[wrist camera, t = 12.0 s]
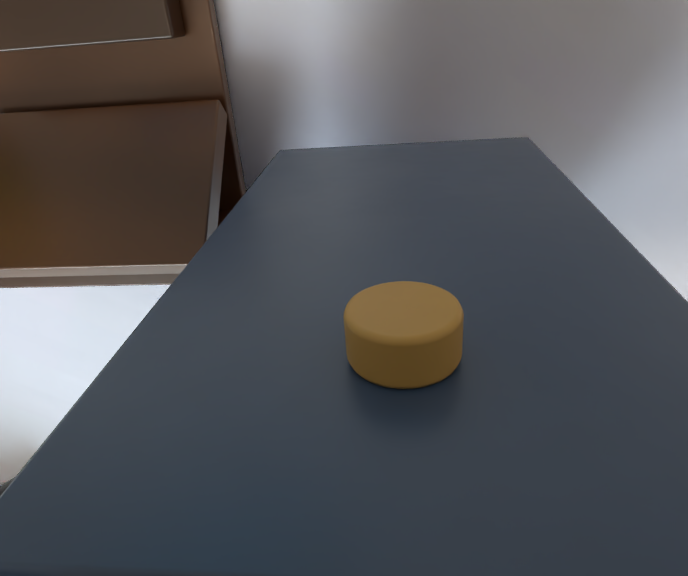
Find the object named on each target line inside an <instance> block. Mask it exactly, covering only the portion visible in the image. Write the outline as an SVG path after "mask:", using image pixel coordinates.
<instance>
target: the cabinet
mask: <svg viewBox="0 0 688 576" xmlns="http://www.w3.org/2000/svg"><path fill="white" fill-rule="evenodd" d="M245 193H246V189H245V183H244V177H243V171H242V165H241V159H240V153H239V147H238V142H237V136H236V130H235V124H234V118H233V112H232V106H231V100H230V95H229V89H228V83H227V77H226V71H225V65H224V59H223V53H222V48H221V42H220V36H219V30H218V24H217V18H216V12H215V6H214V1H213V0H0V288H24V287H72V286H121V285H169V284H172V283H173V282H174V280H175V279H176V278H177V277H178V276H179V274H180V273H181V272H182V271H183V269H184V268H185V267H186V266H187V264H188V263H189V262H190V261H191V259H192V258H193V257H194V256H195V254H196V253H197V252H198V251H199V250H200V248H201V247H202V246H203V245H204V243H205V242H206V241H207V240H208V238H209V237H210V236H211V235H212V233H213V232H214V231H215V230H216V229H217V227H218V226H219V225H220V224H221V222H222V221H223V220H224V219H225V217H226V216H227V215H228V214H229V212H230V211H231V210H232V209H233V207H234V206H235V205H236V204H237V203H238V201H239V200H240V199H241V198H242V196H243V195H244V194H245Z"/></svg>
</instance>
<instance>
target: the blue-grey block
mask: <svg viewBox="0 0 688 576" xmlns="http://www.w3.org/2000/svg"><path fill="white" fill-rule="evenodd" d="M0 576H688V302H687V301H686V300H685V299H684V298H683V297H682V296H681V295H680V293H679V292H678V291H677V290H676V289H675V288H674V287H673V286H672V285H671V284H670V283H669V282H668V281H667V280H666V279H665V278H664V277H663V276H662V275H661V274H660V273H659V272H658V271H657V270H656V269H655V268H654V267H653V266H652V265H651V264H650V262H649V261H648V260H647V259H646V258H645V257H644V256H643V255H642V254H641V253H640V252H639V251H638V250H637V249H636V248H635V247H634V246H633V245H632V244H631V243H630V242H629V241H628V240H627V239H626V238H625V237H624V236H623V235H622V234H621V233H620V232H619V230H618V229H617V228H616V227H615V226H614V225H613V224H612V223H611V222H610V221H609V220H608V219H607V218H606V217H605V216H604V215H603V214H602V213H601V212H600V211H599V210H598V209H597V208H596V207H595V206H594V205H593V204H592V203H591V202H590V201H589V200H588V198H587V197H586V196H585V195H584V194H583V193H582V192H581V191H580V190H579V189H578V188H577V187H576V186H575V185H574V184H573V183H572V182H571V181H570V180H569V179H568V178H567V177H566V176H565V175H564V174H563V173H562V172H561V171H560V170H559V169H558V167H557V166H556V165H555V164H554V163H553V162H552V161H551V160H550V159H549V158H548V157H547V156H546V155H545V154H544V153H543V152H542V151H541V150H540V149H539V148H538V147H537V146H536V145H535V144H534V143H533V142H532V141H531V140H530V139H529V138H528V137H521V138H501V139H482V140H463V141H444V142H425V143H406V144H386V145H367V146H348V147H329V148H310V149H291V150H280V151H279V152H278V153H277V154H276V156H275V157H274V158H273V159H272V160H271V162H270V163H269V164H268V165H267V167H266V168H265V169H264V170H263V172H262V173H261V174H260V175H259V177H258V178H257V179H256V180H255V181H254V183H253V184H252V185H251V186H250V188H249V189H248V190H247V191H246V193H245V194H244V195H243V196H242V198H241V199H240V200H239V201H238V203H237V204H236V205H235V206H234V207H233V209H232V210H231V211H230V212H229V214H228V215H227V216H226V217H225V219H224V220H223V221H222V222H221V224H220V225H219V226H218V227H217V229H216V230H215V231H214V232H213V233H212V235H211V236H210V237H209V238H208V240H207V241H206V242H205V243H204V245H203V246H202V247H201V248H200V250H199V251H198V252H197V253H196V254H195V256H194V257H193V258H192V259H191V261H190V262H189V263H188V264H187V266H186V267H185V268H184V269H183V271H182V272H181V273H180V274H179V276H178V277H177V278H176V279H175V280H174V282H173V283H172V284H171V285H170V287H169V288H168V289H167V290H166V292H165V293H164V294H163V295H162V297H161V298H160V299H159V300H158V302H157V303H156V304H155V305H154V306H153V308H152V309H151V310H150V311H149V313H148V314H147V315H146V316H145V318H144V319H143V320H142V321H141V323H140V324H139V325H138V326H137V327H136V329H135V330H134V331H133V332H132V334H131V335H130V336H129V337H128V339H127V340H126V341H125V342H124V344H123V345H122V346H121V347H120V349H119V350H118V351H117V352H116V353H115V355H114V356H113V357H112V358H111V360H110V361H109V362H108V363H107V365H106V366H105V367H104V368H103V370H102V371H101V372H100V373H99V375H98V376H97V377H96V378H95V379H94V381H93V382H92V383H91V384H90V386H89V387H88V388H87V389H86V391H85V392H84V393H83V394H82V396H81V397H80V398H79V399H78V400H77V402H76V403H75V404H74V405H73V407H72V408H71V409H70V410H69V412H68V413H67V414H66V415H65V417H64V418H63V419H62V420H61V422H60V423H59V424H58V425H57V426H56V428H55V429H54V430H53V431H52V433H51V434H50V435H49V436H48V438H47V439H46V440H45V441H44V443H43V444H42V445H41V446H40V448H39V449H38V450H37V451H36V452H35V454H34V455H33V456H32V457H31V459H30V460H29V461H28V462H27V464H26V465H25V466H24V467H23V469H22V470H21V471H20V472H19V473H18V475H17V476H16V477H15V478H14V480H13V481H12V482H11V483H10V485H9V486H8V487H7V488H6V490H5V491H4V492H3V493H2V495H1V496H0Z"/></svg>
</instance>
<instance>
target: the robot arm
mask: <svg viewBox="0 0 688 576" xmlns="http://www.w3.org/2000/svg"><path fill="white" fill-rule="evenodd" d="M14 478H15V477H14ZM14 478H13V479H11V480H10V481H8V482H7V483H5V484H4V485H2V486H0V496H1V495H2V493H3V492H4V491H5V490H6V488H7V487H8V486H9V485H10V483H11V482H12V481H13V480H14Z"/></svg>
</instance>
